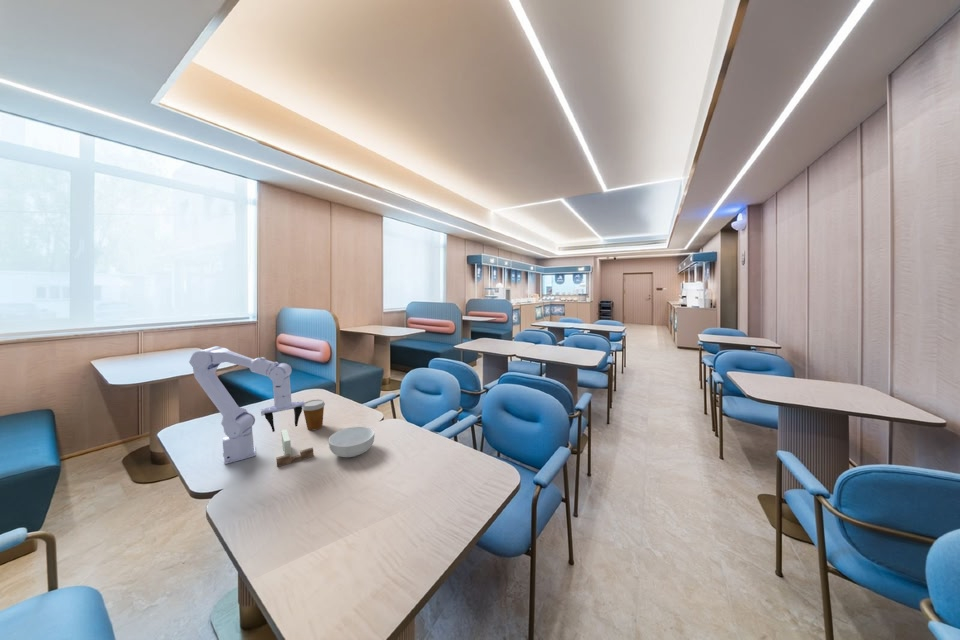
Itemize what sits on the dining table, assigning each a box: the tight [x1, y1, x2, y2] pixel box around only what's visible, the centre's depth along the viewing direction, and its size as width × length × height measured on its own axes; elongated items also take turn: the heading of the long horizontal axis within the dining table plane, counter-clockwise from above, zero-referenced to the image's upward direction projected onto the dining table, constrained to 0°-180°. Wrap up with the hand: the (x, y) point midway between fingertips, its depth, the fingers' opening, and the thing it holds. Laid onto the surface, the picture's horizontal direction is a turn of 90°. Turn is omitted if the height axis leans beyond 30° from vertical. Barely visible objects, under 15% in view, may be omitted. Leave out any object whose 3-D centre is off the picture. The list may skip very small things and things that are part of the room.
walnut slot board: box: [275, 447, 315, 468], centre depth 119 cm, size 12×2×3 cm, turn 127°
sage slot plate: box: [280, 428, 292, 457], centre depth 125 cm, size 12×2×7 cm, turn 37°
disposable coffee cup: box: [302, 398, 326, 431], centre depth 146 cm, size 10×10×12 cm
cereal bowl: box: [328, 426, 375, 458], centre depth 124 cm, size 17×17×7 cm
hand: (285, 428), depth 124 cm, fingers open, 7 cm apart
